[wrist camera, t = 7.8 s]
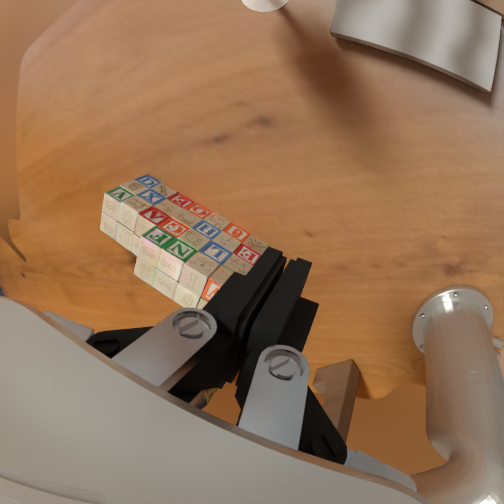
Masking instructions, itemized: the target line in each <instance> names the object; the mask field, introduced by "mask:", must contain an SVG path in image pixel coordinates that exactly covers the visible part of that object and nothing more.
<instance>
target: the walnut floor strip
mask: <svg viewBox="0 0 504 504" xmlns="http://www.w3.org/2000/svg"><path fill="white" fill-rule="evenodd" d="M470 1H472V2H474V3H477V4H479V5H481V6H483V7H485V8H487V9H488V10H490V11H492V12H494V13H496V14H498V15H500V16H501V17H502V18H501V20H502V21H504V0H470Z"/></svg>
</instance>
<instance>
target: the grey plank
mask: <svg viewBox="0 0 504 504" xmlns="http://www.w3.org/2000/svg"><path fill="white" fill-rule="evenodd" d="M501 18H502V17H501V16H500V15H498V14H496V13H494V12H492V11H490V10H488V9H487V8H485V7H483V6H481V5H479V4H477V3H474V2H472V1H470V0H337V3H336V8H335V12H334V16H333V21H332V25H331V29H330V33H331V35H332V36H333V37H337V38H341V39H345V40H349V41H353V42H357V43H360V44H364V45H367V46H371V47H374V48H377V49H381V50H384V51H387V52H390V53H393V54H396V55H399V56H402V57H404V58H407V59H410V60H413V61H415V62H418V63H420V64H423V65H426V66H428V67H431V68H433V69H435V70H438V71H440V72H442V73H445V74H447V75H449V76H451V77H454V78H456V79H458V80H460V81H462V82H464V83H466V84H468V85H470V86H472V87H474V88H476V89H478V90H480V91H482V92H484V93H486V92H491V87H492V82H493V77H494V72H495V66H496V60H497V53H498V46H499V38H500V29H501Z"/></svg>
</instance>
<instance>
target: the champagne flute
mask: <svg viewBox="0 0 504 504" xmlns="http://www.w3.org/2000/svg"><path fill="white" fill-rule="evenodd" d="M288 1H289V0H242V2H243V3H244V4H245V5H246V6H247V7H248V8H249V9H251V10H254V11H257V12H271V11H274V10H277V9H279V8H281V7H282V6H284V5H285V4H286V3H287V2H288Z"/></svg>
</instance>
